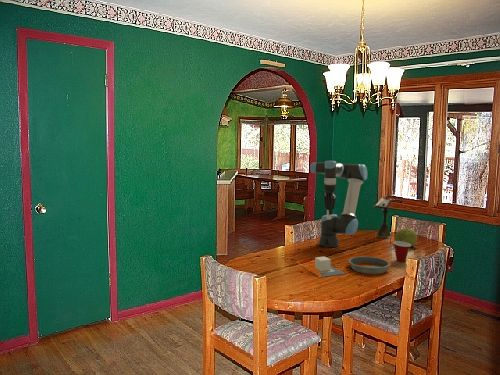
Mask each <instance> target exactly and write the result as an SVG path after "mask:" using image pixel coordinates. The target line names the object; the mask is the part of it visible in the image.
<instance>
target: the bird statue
mask: <svg viewBox="0 0 500 375" xmlns="http://www.w3.org/2000/svg"><path fill="white" fill-rule="evenodd" d="M388 197H389V194H386V195H385V197H381V198H380V199H379V201H378V202H377V203H376V204H374V205H373V208H375V207H376V208H379V209H381V212H382V214H383V217H382V223H381V226H380V227H379V229H378V232H377V233H376V237H377V238H380V239H391V238H392V237H393V236H392V234H391V230H390V228H389V225H388V224H387V215H388V213H389V209H388V207H389V205H390V204H391V203H392V202H393V200H394V199H392V198H390V197H389V199H388Z"/></svg>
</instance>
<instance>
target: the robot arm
mask: <svg viewBox="0 0 500 375" xmlns="http://www.w3.org/2000/svg"><path fill="white" fill-rule="evenodd" d="M309 169H310V172H311V173H312V174H321V175H322V174H323V175H324V180H323V182H324V186H323V190H324V193H323V194H322V196H323V201H324V208H325V209H326V214H325V215H322V216H321V219H320V220H321V221H320V236H319V239H318V244H319V245H321V246H324V247H323V248H327V247H334V248H337V247H338V248H339V245H340V242H339V238H338V234H343V235H354V234H356V232H357V231H358V226H359V220H358V219H357V216H356V209H357V206H358V200H359V195H360V190H361V186H362V184H364V181H366V180H367V179H368V168H367V166H366V165H365V164H361V163H359V164H358V163H357V164H356V163H340V162H337V161H336V160H325V161H324V162H317V161H316V162H312V163H311V164H310V168H309ZM337 178H340V179H344V180H347V182H348V186H347V192H346V196H345V201H344V207H343V211H342V213H340V216H338V214H335V213H333V210H334V209H335V206H336V199H337V197H338V196H337V195H335V191H336V187H337V186H336V184H337ZM318 244H317V245H318ZM319 245H318V246H319ZM321 246H320V247H321Z"/></svg>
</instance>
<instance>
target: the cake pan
mask: <svg viewBox="0 0 500 375" xmlns="http://www.w3.org/2000/svg"><path fill="white" fill-rule="evenodd" d="M348 263H349V264H350V268H351V269H352V270H353V271H355V272H358V273H362V274H367V275H368V274H371V275H377V274H383V273H385V272H387V270H388V268H389V266H390V262H389V261H388V260H386V259H384V258H380V257H375V256H366V255H365V256H354V257H351V258H349V259H348ZM359 264H369V265H367V266H366V265H365V266H361V265H359Z"/></svg>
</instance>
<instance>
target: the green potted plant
mask: <svg viewBox="0 0 500 375" xmlns="http://www.w3.org/2000/svg"><path fill="white" fill-rule="evenodd" d="M395 241H401V242H406V243H409V244H411V246H410V247H409V248H412V247H414V246H415V245H416V244H417V243H418V235H417V233H416V232H415V230H413V229H411V228H409V227H407V228H406V227H405V228H400V229H398V231H396V233H395V235H394V242H395Z"/></svg>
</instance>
